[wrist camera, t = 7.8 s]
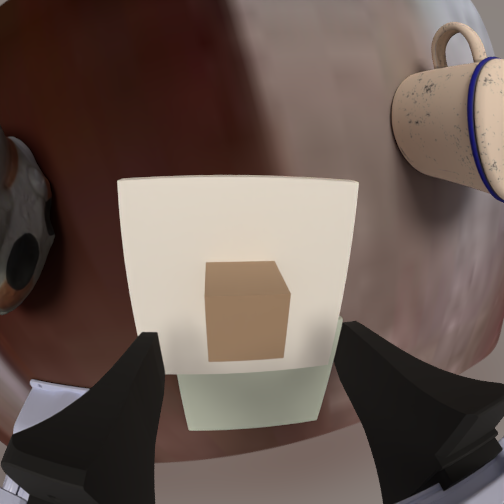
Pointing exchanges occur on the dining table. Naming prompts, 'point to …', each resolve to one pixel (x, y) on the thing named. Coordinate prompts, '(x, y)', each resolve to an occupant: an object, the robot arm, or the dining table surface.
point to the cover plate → (229, 234)
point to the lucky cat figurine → (22, 222)
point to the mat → (255, 396)
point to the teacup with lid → (454, 116)
